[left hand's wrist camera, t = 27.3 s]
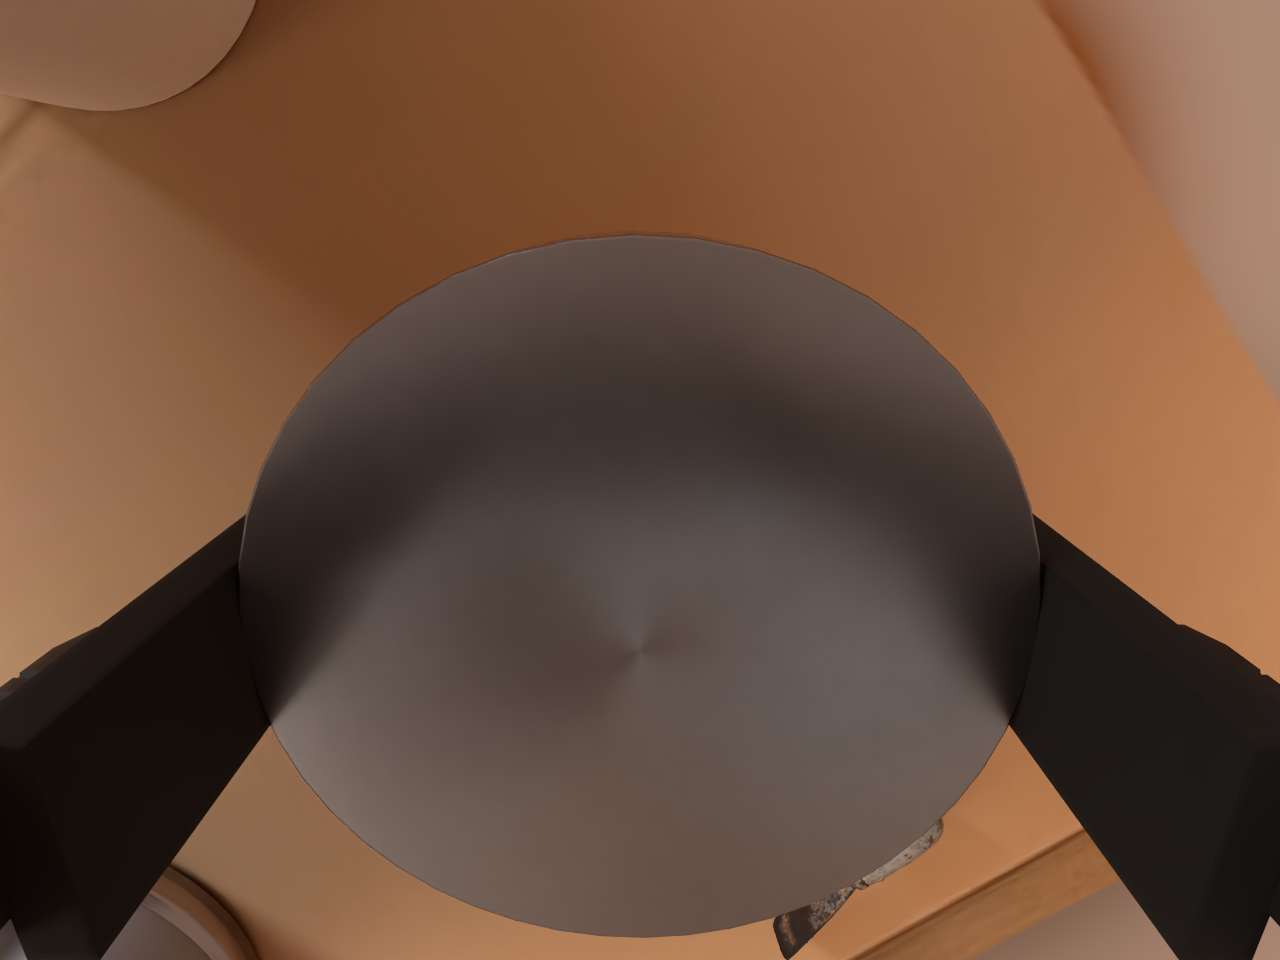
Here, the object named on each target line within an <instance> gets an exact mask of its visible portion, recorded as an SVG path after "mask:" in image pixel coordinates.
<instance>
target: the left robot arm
mask: <svg viewBox="0 0 1280 960" xmlns="http://www.w3.org/2000/svg"><path fill="white" fill-rule="evenodd" d="M1032 515H1033V520H1034V525H1035V531H1036V536H1037V542H1038V547H1039V552H1040V578H1041V607H1040V615H1039V622H1038V627H1037V633H1036V638H1035V643H1034V648H1033V652H1032V657H1031V661H1030V665H1029V670H1028V674H1027V678H1026V683H1025V687H1024V690H1023V693H1022V695H1021V697H1020V700H1019V702H1018V704H1017V707H1016V709H1015V711H1014V714H1013V716H1012V718H1011V720H1010V723H1009V725H1010V727H1011V728H1012V729H1013V731H1014V732H1015V734H1016V735H1017V736H1018V738H1019V739H1020V740H1021V742H1022V743H1023V745H1024V746H1025V747H1026V749H1027V750H1028V752H1029V753H1030V754H1031V756H1032V757H1033V758H1034V760H1035V761H1036V763H1037V764H1038V765H1039V767H1040V768H1041V770H1042V771H1043V772H1044V774H1045V775H1046V776H1047V778H1048V779H1049V781H1050V782H1051V783H1052V785H1053V786H1054V788H1055V789H1056V790H1057V792H1058V793H1059V794H1060V796H1061V797H1062V799H1063V800H1064V801H1065V803H1066V804H1067V806H1068V807H1069V808H1070V810H1071V811H1072V812H1073V814H1074V815H1075V817H1076V818H1077V819H1078V821H1079V822H1080V823H1081V825H1082V826H1083V828H1084V829H1085V830H1086V832H1087V833H1088V835H1089V836H1090V837H1091V839H1092V840H1093V841H1094V843H1095V844H1096V846H1097V847H1098V848H1099V850H1100V851H1101V853H1102V854H1103V855H1104V857H1105V858H1106V859H1107V861H1108V862H1109V864H1110V865H1111V866H1112V868H1113V869H1114V871H1115V872H1116V873H1117V875H1118V876H1119V877H1120V879H1121V880H1122V882H1123V883H1124V884H1125V886H1126V887H1127V889H1128V890H1129V891H1130V893H1131V894H1132V895H1133V897H1134V898H1135V900H1136V901H1137V902H1138V904H1139V905H1140V907H1141V908H1142V909H1143V911H1144V912H1145V913H1146V915H1147V916H1148V918H1149V919H1150V920H1151V922H1152V923H1153V924H1154V926H1155V927H1156V928H1157V930H1158V931H1159V933H1160V934H1161V936H1162V937H1163V938H1164V940H1165V941H1166V943H1167V944H1168V945H1169V947H1170V948H1171V949H1172V951H1173V952H1174V954H1175V955H1176V956H1177V958H1178V959H1179V960H1252V959H1253V956H1254V954H1255V952H1256V949H1257V947H1258V944H1259V942H1260V939H1261V937H1262V934H1263V932H1264V929H1265V927H1266V924H1267V922H1268V919H1269V917H1270V916H1271V917H1272V918H1273V919H1274V921H1275V922H1276V923H1277V924H1278V925H1279V926H1280V684H1279V683H1278V682H1276V681H1275V680H1273V679H1272V678H1271V677H1269V676H1268V675H1261V673H1260V669H1259V668H1257V667H1256V666H1254V665H1253V664H1252V663H1250V662H1249V661H1248V660H1246V659H1245V658H1244V657H1242V656H1241V655H1239V654H1238V653H1237V652H1235V651H1234V650H1233V649H1231V648H1230V647H1229V646H1227V645H1225V644H1223V643H1221V642H1219V641H1217V640H1215V639H1213V638H1211V637H1209V636H1207V635H1204V634H1202V633H1200V632H1198V631H1196V630H1194V629H1192V628H1190V627H1188V626H1186V625H1178V624H1176V623H1175V622H1174V621H1173V620H1171V619H1170V618H1169V617H1167V616H1166V615H1165V614H1163V613H1162V612H1161V611H1159V610H1158V609H1157V608H1156V607H1154V606H1153V605H1152V604H1150V603H1149V602H1148V601H1146V600H1145V599H1144V598H1142V597H1141V596H1140V595H1138V594H1137V593H1136V592H1135V591H1133V590H1132V589H1131V588H1129V587H1128V586H1127V585H1125V584H1124V583H1123V582H1121V581H1120V580H1119V579H1118V578H1116V577H1115V576H1114V575H1112V574H1111V573H1110V572H1108V571H1107V570H1106V569H1104V568H1103V567H1102V566H1101V565H1099V564H1098V563H1097V562H1095V561H1094V560H1093V559H1091V558H1090V557H1089V556H1087V555H1086V554H1085V553H1083V552H1082V551H1081V550H1080V549H1078V548H1077V547H1076V546H1074V545H1073V544H1072V543H1070V542H1069V541H1068V540H1066V539H1065V538H1064V537H1063V536H1061V535H1060V534H1059V533H1057V532H1056V531H1055V530H1053V529H1052V528H1051V527H1049V526H1048V525H1047V524H1045V523H1044V522H1043V521H1042V520H1040V519H1039V518H1038V517H1036V516H1035V515H1034V514H1032ZM245 518H246V515H244V516H243V517H242V518H241V519H239V520H238V521H237V522H235V523H234V524H233V525H231V526H230V527H229V528H227V529H226V530H225V531H224V532H222V533H221V534H220V535H218V536H217V537H216V538H214V539H213V540H212V541H210V542H209V543H208V544H206V545H205V546H204V547H203V548H201V549H200V550H199V551H197V552H196V553H195V554H193V555H192V556H191V557H189V558H188V559H187V560H186V561H184V562H183V563H182V564H180V565H179V566H178V567H176V568H175V569H174V570H172V571H171V572H170V573H168V574H167V575H166V576H165V577H163V578H162V579H161V580H159V581H158V582H157V583H155V584H154V585H153V586H151V587H150V588H149V589H148V590H146V591H145V592H144V593H142V594H141V595H140V596H138V597H137V598H136V599H134V600H133V601H132V602H130V603H129V604H128V605H127V606H125V607H124V608H123V609H121V610H120V611H119V612H117V613H116V614H115V615H113V616H112V617H111V618H110V619H108V620H107V621H106V622H104V623H103V624H102V625H100V626H99V627H96V628H94V629H92V630H90V631H88V632H86V633H83V634H81V635H79V636H77V637H75V638H73V639H71V640H69V641H67V642H65V643H63V644H61V645H59V646H57V647H55V648H53V649H51V650H50V651H49V652H47V653H46V654H45V655H43V656H42V657H41V658H39V659H38V660H37V661H35V662H34V663H32V664H31V665H30V666H28V667H27V668H26V669H24V670H23V671H22V672H20V676H19V678H12V679H11V680H10V681H8V682H7V683H5V684H4V685H3V686H1V687H0V960H258V959H257V956H256V954H255V952H254V950H253V948H252V946H251V944H250V942H249V940H248V939H247V937H246V936H245V934H244V933H243V931H242V930H241V928H240V927H239V926H238V924H237V923H236V922H235V921H234V919H233V918H232V917H231V916H230V914H229V913H228V912H227V911H226V910H225V909H224V908H223V907H222V906H221V905H220V904H219V903H218V902H217V901H216V900H215V899H213V898H212V897H211V896H210V895H209V894H208V893H206V892H205V891H204V890H203V889H202V888H200V887H199V886H198V885H196V884H195V883H194V882H192V881H191V880H189V879H188V878H187V877H185V876H183V875H182V874H180V873H179V872H177V871H175V870H174V869H172V868H171V867H169V864H170V863H171V862H172V860H173V859H174V857H175V856H176V855H177V853H178V852H179V850H180V849H181V848H182V846H183V845H184V844H185V842H186V841H187V839H188V838H189V837H190V835H191V834H192V833H193V831H194V830H195V828H196V827H197V826H198V824H199V823H200V821H201V820H202V819H203V817H204V816H205V815H206V813H207V812H208V810H209V809H210V808H211V806H212V805H213V803H214V802H215V801H216V799H217V798H218V797H219V795H220V794H221V792H222V791H223V790H224V788H225V787H226V785H227V784H228V783H229V781H230V780H231V779H232V777H233V776H234V774H235V773H236V772H237V770H238V769H239V767H240V766H241V765H242V763H243V762H244V761H245V759H246V758H247V756H248V755H249V754H250V752H251V751H252V749H253V748H254V747H255V745H256V744H257V743H258V741H259V740H260V738H261V737H262V736H263V734H264V733H265V731H266V730H267V729H268V727H269V726H270V725H271V724H270V722H269V719H268V717H267V715H266V713H265V711H264V709H263V707H262V705H261V702H260V700H259V697H258V694H257V691H256V688H255V685H254V681H253V677H252V673H251V668H250V664H249V660H248V655H247V651H246V646H245V641H244V636H243V631H242V626H241V621H240V616H239V567H238V565H239V558H240V552H241V545H242V538H243V531H244V525H245Z"/></svg>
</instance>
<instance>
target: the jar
mask: <svg viewBox="0 0 1280 960" xmlns="http://www.w3.org/2000/svg"><path fill="white" fill-rule="evenodd" d="M255 1H256V0H0V94H2V95H7V96H12V97H17V98H23V99H28V100H33V101H38V102H43V103H48V104H53V105H58V106H63V107H69V108H76V109H83V110H91V111H120V110H126V109H133V108H139V107H144V106H147V105H151V104H154V103H157V102H160V101H163V100H166V99H168V98H170V97H172V96H174V95H176V94H178V93H180V92H182V91H184V90H186V89H188V88H189V87H191V86H192V85H193V84H195V83H196V82H197V81H199V80H200V79H201V78H203V77H204V76H205V75H207V74H208V73H209V72H210V71H211V70H212V69H213V68H214V67H215V66H216V65H217V64H218V63H219V62H220V61H221V60H222V59H223V58H224V57H225V56H226V54H227V53H228V51H229V50H230V49H231V47H232V46H233V44H234V43H235V42H236V40H237V39H238V37H239V36H240V34H241V32H242V30H243V28H244V26H245V24H246V22H247V20H248V18H249V16H250V15H251V13H252V10H253V7H254V4H255Z"/></svg>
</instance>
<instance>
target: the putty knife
mask: <svg viewBox="0 0 1280 960" xmlns="http://www.w3.org/2000/svg"><path fill="white" fill-rule="evenodd" d="M942 833H943V821H942V818H940V819H939V820H938V821H937V822H936V823H935V824H934V825H933V826H932V827H931V828H930V829H929V830H928V831H927V832H926V833H925V834H924V835H923V836H922V837H920V838H919V839H918V840H916V841H915V842H914V843H913V844H911V845H910V846H909V847H908V848H906V849H905V850H904V851H902V852H901V853H900V854H899V855H897V856H896V857H895V858H894V859H892V860H891V861H889V862H888V863H886V864H885V865H883V866H881V867H880V868H878V869H877V870H875V871H873V872H872V873H870V874H868V875H867V876H865V877H864V878H862V879H860V880H859V881H857V882H856V883H854V884H852V885H850V886H848V887H846V888H844V889H842V890H840V891H838V892H836V893H833V894H831V895H829V896H827V897H825V898H823V899H821V900H819V901H817V902H815V903H812V904H809V905H807V906H804V907H801V908H798V909H796V910H793V911H790V912H788V913H785V914H782V915H779V916H778V917H776V918H775V919H774V923H773V928H774V932H775V934H776V938H777V941H778V943H779V946H780V950H781V952H782V954H783V956H784V958H785V959H786V960H789V959H790V958H791V957H792V956H794V955H795V954H796V953H797V952H798V951H799V950H800V949H801V948H802V947H803V946H804V945H805V944H806V943H808V941H809V940H810V939H811V938H813V936H814V935H815V934H816V933H817V932H818V931H819V930H820V929H821V928H822V927H823V926H824V925H825V924H826V923H827V922H828V921H829V920H830V919H831V918H832V917H833V915H834V914H835V913H836V912H837V911H838V910H839V909H840V908H841V906H842V905H843V904H844V903H845V902H846V900H847V899H848V898H849V897H850V896H851V894H852V893H853V892H854V891H855V890H856V889H857V888H858V889H859V890H863V889H865V888H867V887H869V885H872V884H874V883H876V882H880V881H883V880H884V879H885V878H886V877H888V876H890V875H892V874H893V873H895V872H896V871H898V870H899V869H901V868H903V867H904V866H906V865H908V864H909V863H911V862H912V861H913V860H915V859H916V858H918V857H919V856H921V855H922V854H923V853H925V852H926V851H927V850H929V849H930V848H931V847H932V846H933V845H934V844H935V843H936V842H937V841H938V840H939V838H940V837H941V835H942Z"/></svg>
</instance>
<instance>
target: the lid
mask: <svg viewBox="0 0 1280 960" xmlns="http://www.w3.org/2000/svg"><path fill="white" fill-rule="evenodd" d="M238 567H239V616H240V621H241V626H242V631H243V636H244V641H245V646H246V651H247V655H248V660H249V664H250V668H251V673H252V677H253V681H254V685H255V688H256V691H257V694H258V697H259V700H260V702H261V705H262V707H263V709H264V711H265V713H266V715H267V717H268V719H269V722H270V724H271V726H272V728H273V730H274V732H275V734H276V736H277V739H278V740H279V742H280V744H281V745H282V747H283V748H284V750H285V751H286V753H287V754H288V756H289V758H290V759H291V761H292V762H293V764H294V765H295V767H296V768H297V770H298V771H299V773H300V775H301V776H302V778H303V779H304V780H305V781H306V782H307V784H308V785H309V786H310V787H311V788H312V789H313V791H314V792H315V793H316V794H317V795H318V797H319V798H320V799H321V800H322V801H323V803H324V804H325V805H326V806H327V807H328V809H329V810H330V811H331V812H332V813H333V814H334V815H335V816H337V817H338V818H339V819H340V820H341V821H342V822H343V823H344V824H345V825H346V826H347V827H348V828H349V829H350V830H351V831H353V832H354V833H355V834H356V835H357V836H358V837H359V838H360V839H361V840H362V841H364V842H365V843H366V844H368V845H369V846H370V847H372V848H373V849H374V850H376V851H377V852H378V853H380V854H381V855H382V856H384V857H385V858H386V859H388V860H389V861H390V862H392V863H393V864H394V865H396V866H397V867H399V868H401V869H402V870H404V871H406V872H407V873H409V874H411V875H412V876H414V877H416V878H418V879H419V880H421V881H423V882H424V883H426V884H428V885H430V886H431V887H433V888H435V889H437V890H439V891H441V892H443V893H446V894H448V895H450V896H452V897H454V898H457V899H459V900H461V901H463V902H465V903H468V904H470V905H472V906H474V907H477V908H480V909H483V910H486V911H489V912H492V913H495V914H498V915H501V916H504V917H507V918H510V919H513V920H516V921H520V922H524V923H529V924H533V925H537V926H542V927H546V928H550V929H554V930H559V931H567V932H575V933H582V934H590V935H597V936H614V937H642V938H647V937H664V936H681V935H692V934H698V933H705V932H711V931H718V930H724V929H731V928H735V927H739V926H743V925H747V924H750V923H754V922H758V921H762V920H766V919H770V918H774V917H777V916H779V915H782V914H785V913H788V912H790V911H793V910H796V909H798V908H801V907H804V906H807V905H809V904H812V903H815V902H817V901H819V900H821V899H823V898H825V897H827V896H829V895H831V894H833V893H836V892H838V891H840V890H842V889H844V888H846V887H848V886H850V885H852V884H854V883H856V882H857V881H859V880H860V879H862V878H864V877H865V876H867V875H868V874H870V873H872V872H873V871H875V870H877V869H878V868H880V867H881V866H883V865H885V864H886V863H888V862H889V861H891V860H892V859H894V858H895V857H896V856H897V855H899V854H900V853H901V852H902V851H904V850H905V849H906V848H908V847H909V846H910V845H911V844H913V843H914V842H915V841H916V840H918V839H919V838H920V837H922V836H923V835H924V834H925V833H926V832H927V831H928V830H929V829H930V828H931V827H932V826H933V825H934V824H935V823H936V822H937V821H938V820H939V819H940V818H941V817H942V816H943V815H944V814H945V813H946V812H947V811H948V810H949V809H951V808H952V807H953V806H954V805H955V804H956V802H957V801H958V800H959V799H960V797H961V796H962V795H963V794H964V792H965V791H966V790H967V789H968V787H969V786H970V785H971V783H972V782H973V781H974V780H975V778H976V777H977V776H978V775H979V773H980V772H981V771H982V770H983V768H984V767H985V765H986V763H987V762H988V760H989V758H990V757H991V755H992V753H993V752H994V750H995V748H996V747H997V745H998V743H999V742H1000V740H1001V738H1002V737H1003V735H1004V733H1005V732H1006V730H1007V727H1008V725H1009V723H1010V720H1011V718H1012V716H1013V714H1014V711H1015V709H1016V707H1017V704H1018V702H1019V700H1020V697H1021V695H1022V693H1023V690H1024V687H1025V683H1026V678H1027V674H1028V670H1029V665H1030V661H1031V657H1032V652H1033V648H1034V643H1035V638H1036V633H1037V627H1038V622H1039V615H1040V607H1041V578H1040V552H1039V547H1038V542H1037V536H1036V531H1035V525H1034V520H1033V515H1032V509H1031V505H1030V502H1029V499H1028V496H1027V493H1026V490H1025V488H1024V485H1023V482H1022V479H1021V476H1020V474H1019V471H1018V468H1017V465H1016V462H1015V459H1014V457H1013V455H1012V453H1011V452H1010V450H1009V448H1008V446H1007V444H1006V442H1005V441H1004V439H1003V437H1002V435H1001V433H1000V431H999V429H998V428H997V426H996V424H995V422H994V420H993V418H992V417H991V415H990V413H989V411H988V410H987V409H986V407H985V406H984V405H983V404H982V402H981V401H980V400H979V398H978V397H977V396H976V394H975V393H974V392H973V390H972V389H971V388H970V386H969V385H968V384H967V383H966V381H965V380H964V379H963V377H962V376H961V375H960V373H959V372H958V371H957V369H955V368H954V367H953V366H952V365H951V364H950V363H949V362H948V361H947V360H946V359H945V358H944V357H943V356H942V355H941V354H940V353H939V352H938V351H937V350H936V349H935V348H934V347H933V346H932V345H931V344H930V343H929V342H928V341H926V340H925V339H924V338H923V337H922V336H921V335H920V334H919V333H918V332H917V331H916V330H915V329H913V328H912V327H910V326H909V325H908V324H906V323H905V322H903V321H902V320H901V319H899V318H898V317H896V316H895V315H894V314H892V313H891V312H889V311H888V310H887V309H885V308H884V307H882V306H881V305H880V304H878V303H877V302H875V301H874V300H873V299H871V298H870V297H868V296H866V295H864V294H862V293H860V292H858V291H856V290H854V289H852V288H851V287H849V286H847V285H845V284H843V283H841V282H839V281H837V280H835V279H833V278H831V277H829V276H827V275H825V274H823V273H821V272H819V271H817V270H815V269H812V268H810V267H807V266H804V265H801V264H798V263H795V262H792V261H789V260H786V259H783V258H781V257H778V256H775V255H772V254H769V253H766V252H763V251H760V250H757V249H754V248H751V247H747V246H744V245H741V244H737V243H731V242H726V241H721V240H716V239H711V238H706V237H700V236H695V235H690V234H680V233H661V232H643V231H628V232H616V233H604V234H593V235H581V236H576V237H572V238H567V239H563V240H558V241H554V242H550V243H545V244H541V245H537V246H532V247H528V248H525V249H521V250H518V251H515V252H511V253H508V254H505V255H503V256H500V257H497V258H495V259H492V260H490V261H487V262H484V263H482V264H479V265H476V266H474V267H471V268H469V269H466V270H463V271H461V272H458V273H456V274H453V275H450V276H449V277H447V278H445V279H443V280H441V281H440V282H438V283H436V284H434V285H432V286H431V287H429V288H427V289H425V290H423V291H422V292H420V293H418V294H416V295H414V296H413V297H411V298H409V299H407V300H405V301H404V302H402V303H400V304H398V305H397V306H396V307H394V308H393V309H392V310H391V311H389V312H388V313H387V314H385V315H384V316H383V317H381V318H380V319H379V320H377V321H376V322H375V323H374V324H372V325H371V326H370V327H368V328H367V329H366V330H364V331H363V332H362V333H361V334H359V335H358V336H357V337H355V338H354V339H353V340H352V341H351V342H350V343H349V344H348V345H347V346H346V347H345V348H344V349H343V350H342V351H341V352H340V353H339V354H338V355H337V356H336V357H335V358H334V359H333V360H332V361H331V363H330V364H329V365H328V366H327V367H326V368H325V369H324V370H323V371H322V372H321V373H320V374H319V375H318V376H317V377H316V378H315V379H314V380H313V382H312V383H311V385H310V386H309V387H308V389H307V390H306V392H305V393H304V395H303V396H302V397H301V399H300V400H299V402H298V403H297V404H296V406H295V407H294V409H293V410H292V412H291V413H290V414H289V416H288V417H287V419H286V420H285V421H284V423H283V425H282V427H281V429H280V431H279V433H278V435H277V437H276V439H275V441H274V443H273V445H272V447H271V449H270V451H269V453H268V455H267V457H266V459H265V461H264V463H263V465H262V467H261V469H260V472H259V476H258V479H257V482H256V485H255V488H254V492H253V495H252V498H251V501H250V504H249V508H248V511H247V514H246V518H245V525H244V531H243V538H242V545H241V552H240V558H239V565H238Z"/></svg>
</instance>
